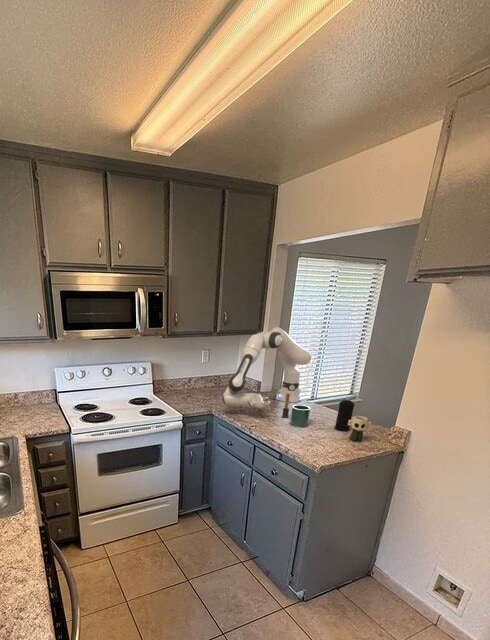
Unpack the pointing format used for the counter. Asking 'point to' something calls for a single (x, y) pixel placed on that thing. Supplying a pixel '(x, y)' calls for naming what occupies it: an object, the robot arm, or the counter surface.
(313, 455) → the counter surface
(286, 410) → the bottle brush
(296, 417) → the green cup
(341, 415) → the aerosol can
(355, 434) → the cartoon character figurine
